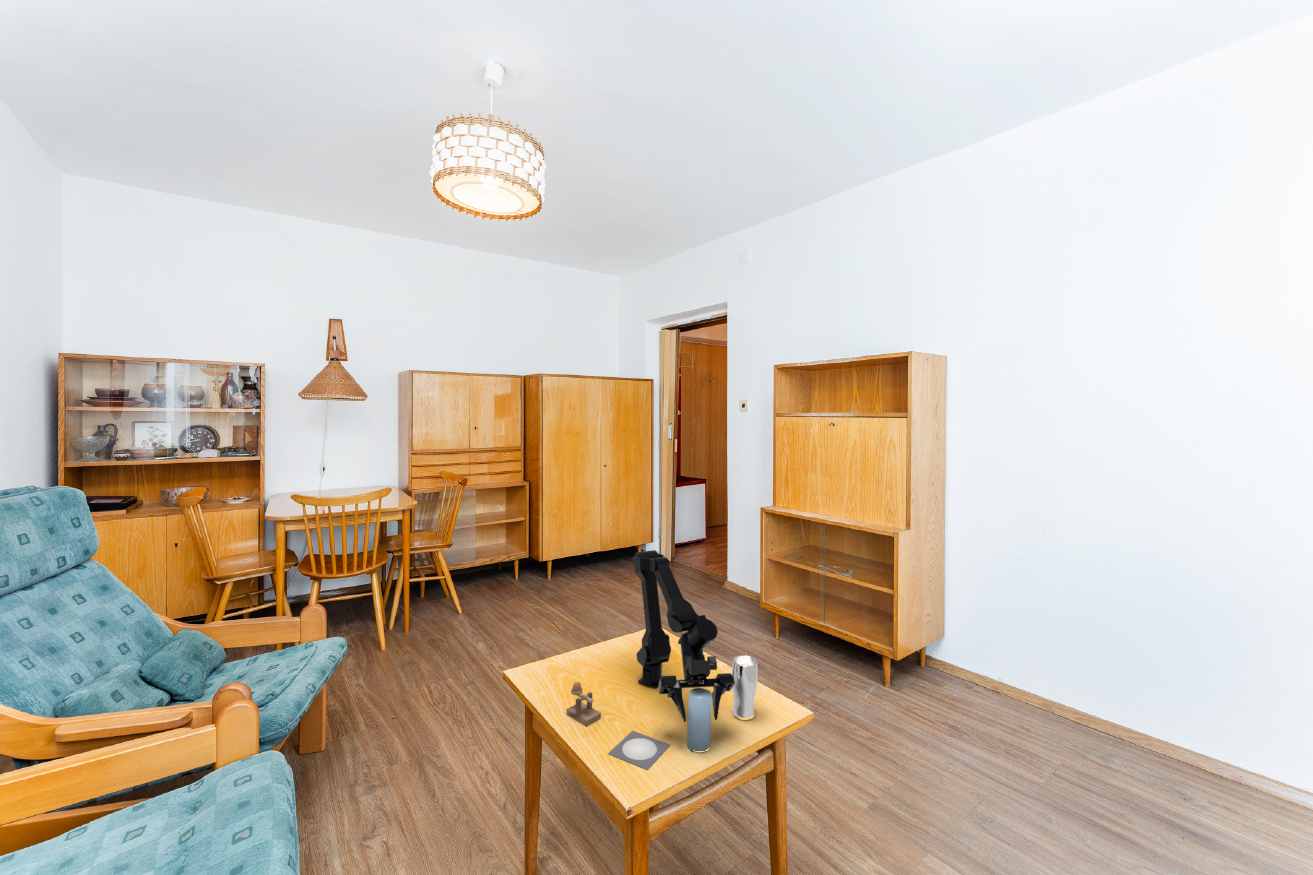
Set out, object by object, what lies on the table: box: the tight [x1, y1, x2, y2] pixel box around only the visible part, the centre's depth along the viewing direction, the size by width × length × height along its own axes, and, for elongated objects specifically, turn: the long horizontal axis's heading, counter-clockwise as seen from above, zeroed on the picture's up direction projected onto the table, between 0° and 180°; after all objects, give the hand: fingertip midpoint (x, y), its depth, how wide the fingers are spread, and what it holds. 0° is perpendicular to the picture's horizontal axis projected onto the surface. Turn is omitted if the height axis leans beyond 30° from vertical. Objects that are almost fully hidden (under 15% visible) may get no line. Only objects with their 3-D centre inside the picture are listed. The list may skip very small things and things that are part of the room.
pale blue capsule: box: [686, 687, 713, 751], centre depth 131 cm, size 6×6×13 cm
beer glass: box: [731, 655, 759, 718], centre depth 145 cm, size 7×7×15 cm
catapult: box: [566, 681, 602, 727], centre depth 143 cm, size 8×5×8 cm, turn 49°
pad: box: [607, 730, 671, 771], centre depth 129 cm, size 11×11×1 cm
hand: (700, 720), depth 130 cm, fingers open, 7 cm apart
